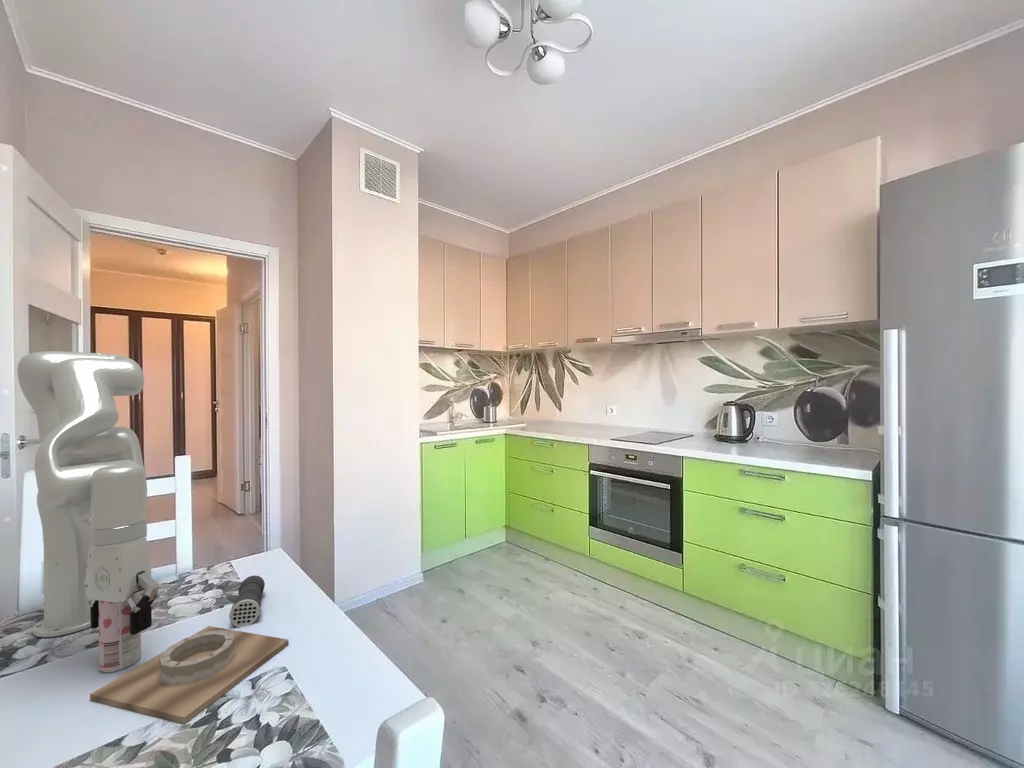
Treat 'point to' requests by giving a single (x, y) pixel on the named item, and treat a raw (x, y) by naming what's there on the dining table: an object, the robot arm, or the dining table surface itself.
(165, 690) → the socket board
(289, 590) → the dining table surface
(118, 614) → the beverage can
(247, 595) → the flashlight
